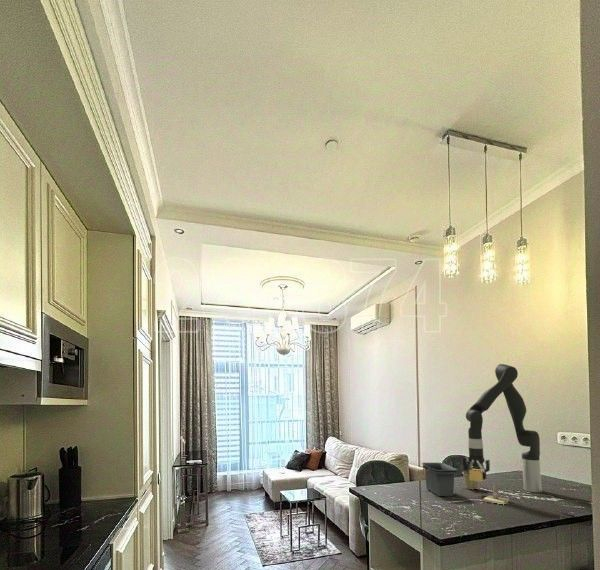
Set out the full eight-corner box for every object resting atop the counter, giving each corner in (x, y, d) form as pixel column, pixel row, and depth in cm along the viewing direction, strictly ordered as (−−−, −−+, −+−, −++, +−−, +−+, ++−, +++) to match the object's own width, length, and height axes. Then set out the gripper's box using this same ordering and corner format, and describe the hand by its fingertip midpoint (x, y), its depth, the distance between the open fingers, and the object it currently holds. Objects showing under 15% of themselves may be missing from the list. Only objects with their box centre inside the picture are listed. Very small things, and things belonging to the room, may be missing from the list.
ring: (473, 478, 269) (473, 468, 270) (485, 479, 265) (485, 470, 266) (469, 480, 264) (468, 470, 265) (481, 481, 260) (481, 472, 261)
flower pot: (463, 489, 274) (462, 473, 275) (462, 486, 282) (462, 470, 284) (480, 491, 271) (479, 475, 272) (479, 487, 280) (478, 472, 281)
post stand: (489, 498, 255) (488, 482, 257) (509, 501, 249) (508, 485, 251) (483, 501, 247) (482, 485, 249) (503, 505, 241) (502, 488, 243)
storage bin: (460, 497, 255) (459, 469, 258) (433, 498, 253) (432, 469, 255) (442, 488, 276) (441, 462, 278) (417, 489, 273) (416, 462, 276)
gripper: (491, 447, 266) (493, 479, 263) (465, 444, 275) (467, 475, 272) (486, 449, 260) (488, 481, 257) (460, 446, 269) (462, 477, 266)
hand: (477, 478), depth 265 cm, fingers closed on ring, 6 cm apart
